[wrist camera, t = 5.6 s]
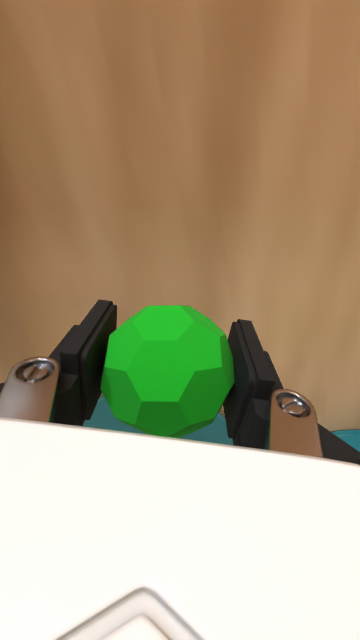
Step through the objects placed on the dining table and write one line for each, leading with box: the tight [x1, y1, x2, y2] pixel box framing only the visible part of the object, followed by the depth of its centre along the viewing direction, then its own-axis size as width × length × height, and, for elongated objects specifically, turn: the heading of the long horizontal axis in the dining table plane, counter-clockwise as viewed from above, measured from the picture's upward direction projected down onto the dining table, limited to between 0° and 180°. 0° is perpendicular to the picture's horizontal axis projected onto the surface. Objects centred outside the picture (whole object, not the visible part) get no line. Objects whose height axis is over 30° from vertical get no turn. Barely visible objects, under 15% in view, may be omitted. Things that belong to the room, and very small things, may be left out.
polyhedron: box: [100, 305, 235, 438], centre depth 10 cm, size 5×5×5 cm
